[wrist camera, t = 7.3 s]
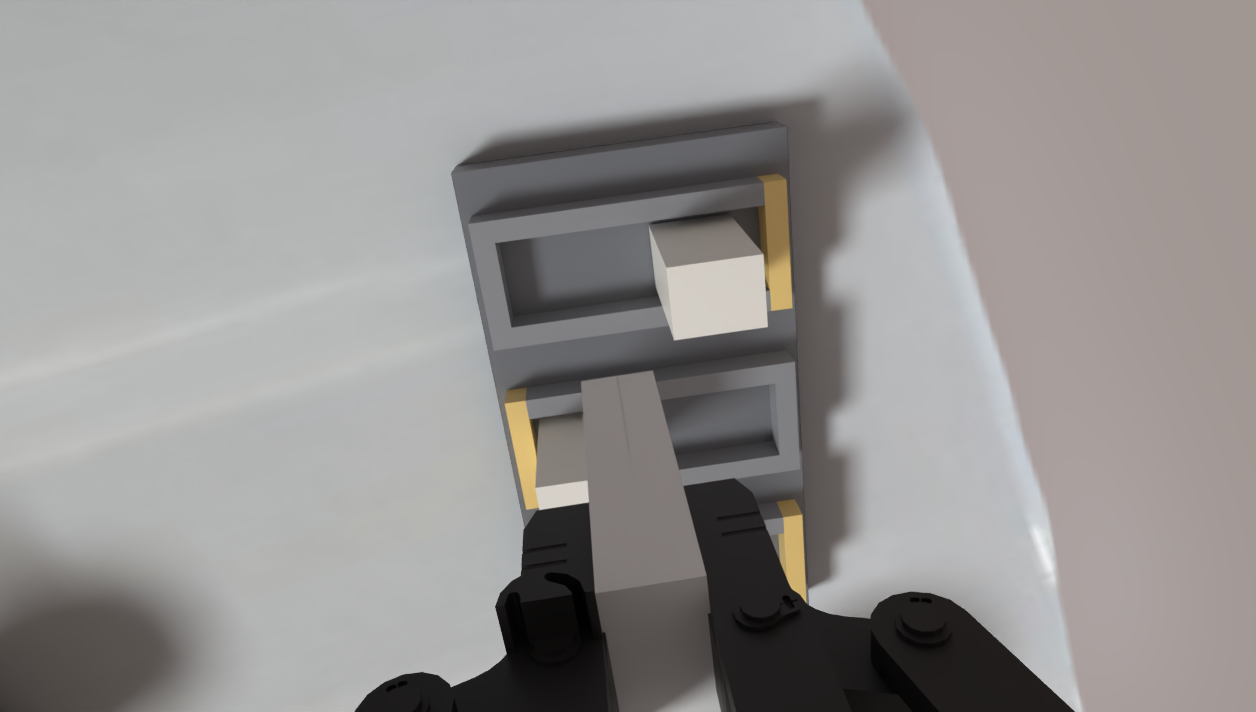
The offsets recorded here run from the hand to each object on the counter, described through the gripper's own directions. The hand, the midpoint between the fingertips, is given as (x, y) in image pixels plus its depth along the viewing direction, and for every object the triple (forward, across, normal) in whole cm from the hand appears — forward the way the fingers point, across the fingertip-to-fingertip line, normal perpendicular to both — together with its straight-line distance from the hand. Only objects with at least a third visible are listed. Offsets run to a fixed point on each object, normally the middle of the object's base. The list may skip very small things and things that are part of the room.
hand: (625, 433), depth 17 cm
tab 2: (+14, +3, -1) cm, 15 cm away
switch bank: (+16, +1, -8) cm, 17 cm away
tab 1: (+14, -2, -8) cm, 16 cm away
